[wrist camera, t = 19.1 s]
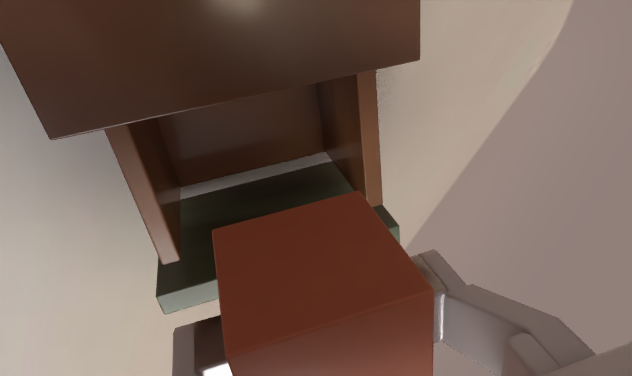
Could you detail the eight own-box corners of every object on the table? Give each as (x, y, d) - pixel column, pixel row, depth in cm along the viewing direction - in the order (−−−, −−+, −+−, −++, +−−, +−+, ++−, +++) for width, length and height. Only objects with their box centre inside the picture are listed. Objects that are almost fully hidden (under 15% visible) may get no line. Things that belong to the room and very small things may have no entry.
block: (245, 334, 14) (269, 472, 10) (210, 228, 12) (224, 358, 8) (369, 295, 15) (433, 411, 11) (359, 189, 12) (436, 289, 9)
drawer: (352, 231, 29) (402, 311, 23) (190, 277, 27) (194, 379, 21) (321, -70, 20) (390, -81, 13) (69, -32, 18) (7, -22, 11)
